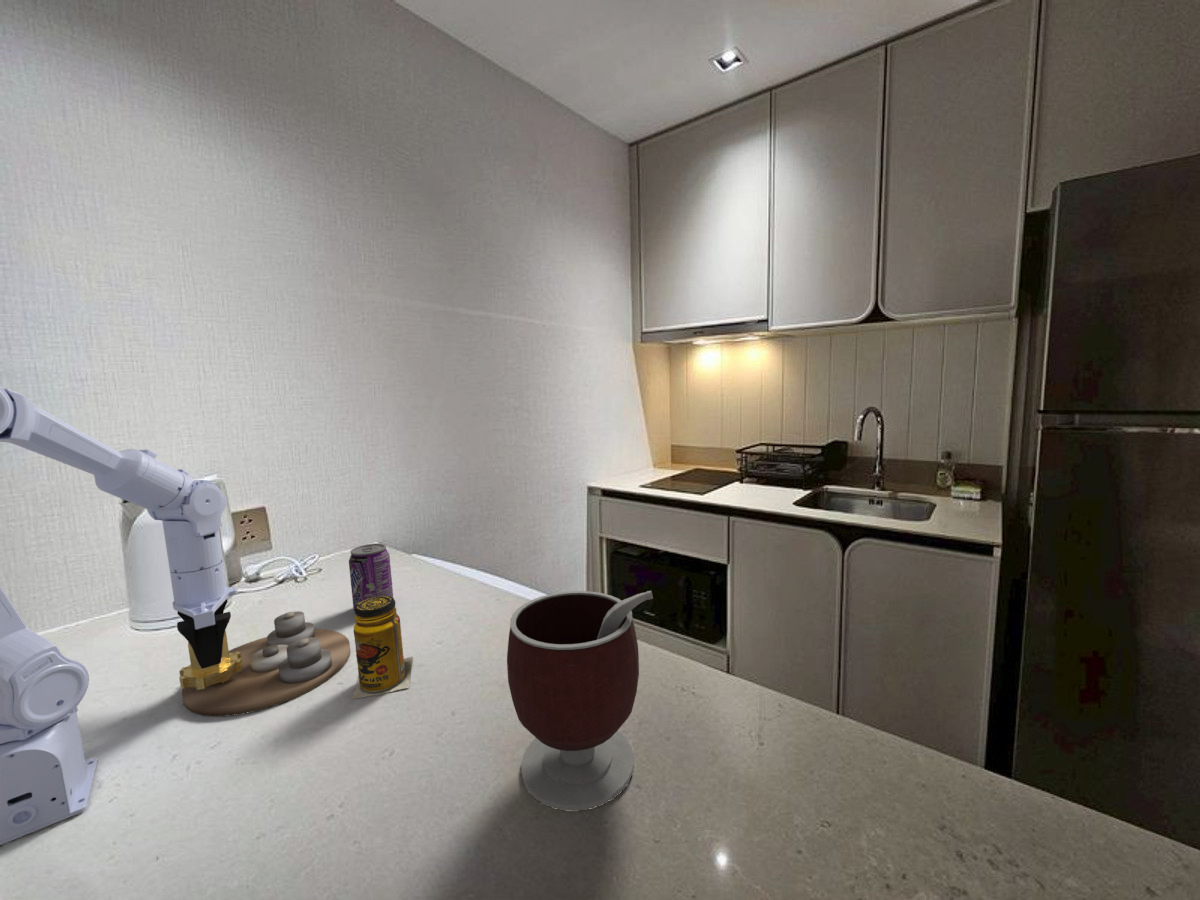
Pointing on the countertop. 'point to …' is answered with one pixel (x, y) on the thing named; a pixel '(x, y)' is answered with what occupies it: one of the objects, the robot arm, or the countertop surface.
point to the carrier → (274, 669)
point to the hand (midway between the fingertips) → (210, 658)
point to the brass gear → (210, 669)
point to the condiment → (379, 648)
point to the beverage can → (370, 572)
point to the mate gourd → (575, 694)
